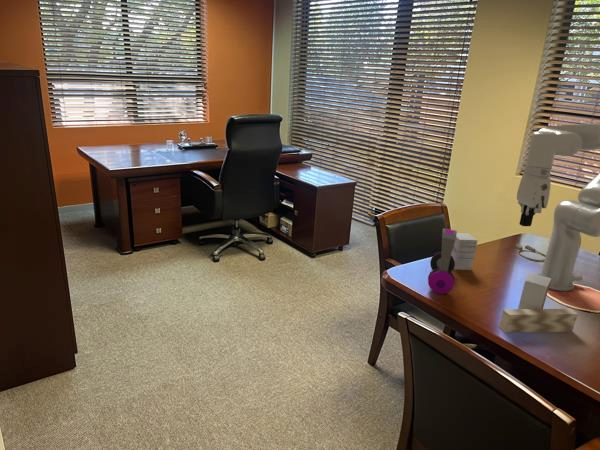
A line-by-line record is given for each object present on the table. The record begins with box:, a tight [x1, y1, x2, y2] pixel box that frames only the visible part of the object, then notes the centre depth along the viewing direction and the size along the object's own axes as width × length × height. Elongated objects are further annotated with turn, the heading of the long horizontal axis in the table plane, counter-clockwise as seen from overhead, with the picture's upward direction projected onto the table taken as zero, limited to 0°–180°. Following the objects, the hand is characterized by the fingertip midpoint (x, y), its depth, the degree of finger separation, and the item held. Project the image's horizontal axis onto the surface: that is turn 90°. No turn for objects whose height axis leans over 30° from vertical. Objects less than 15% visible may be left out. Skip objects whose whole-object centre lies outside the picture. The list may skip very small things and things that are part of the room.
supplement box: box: [451, 232, 478, 271], centre depth 173 cm, size 7×7×13 cm
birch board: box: [498, 308, 578, 333], centre depth 133 cm, size 22×3×6 cm, turn 97°
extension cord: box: [515, 243, 546, 262], centre depth 191 cm, size 12×16×2 cm
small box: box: [517, 272, 551, 309], centre depth 139 cm, size 8×6×13 cm
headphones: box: [427, 228, 458, 295], centre depth 156 cm, size 21×9×20 cm, turn 162°
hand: (525, 225), depth 147 cm, fingers closed
